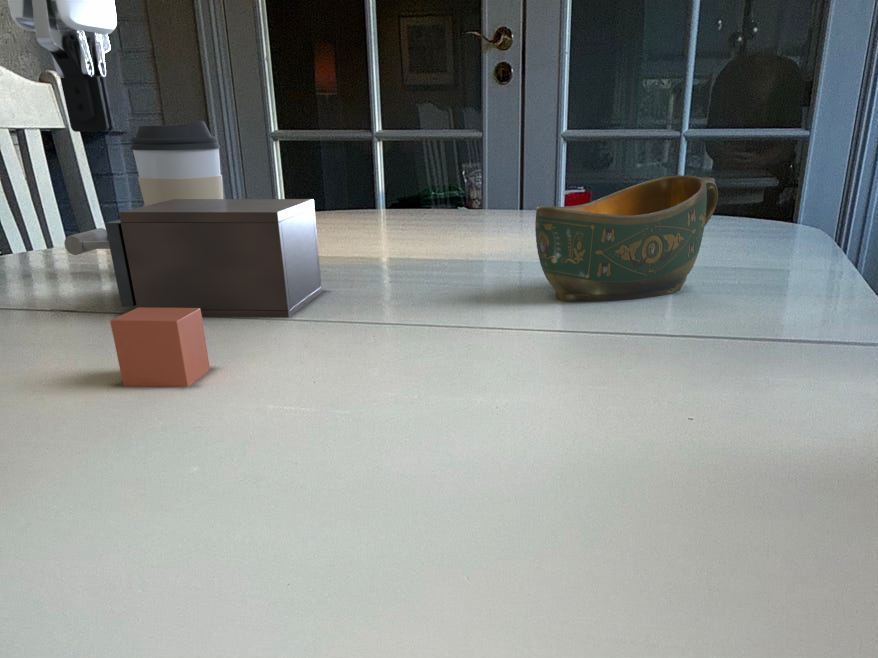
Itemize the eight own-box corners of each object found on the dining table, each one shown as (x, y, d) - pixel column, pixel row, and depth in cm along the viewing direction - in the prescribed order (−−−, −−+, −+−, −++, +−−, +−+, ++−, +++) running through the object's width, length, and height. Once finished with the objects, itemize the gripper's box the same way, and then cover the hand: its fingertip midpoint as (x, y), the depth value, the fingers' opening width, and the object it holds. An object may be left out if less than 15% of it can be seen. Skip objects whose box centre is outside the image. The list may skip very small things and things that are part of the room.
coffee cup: (137, 281, 97) (107, 121, 89) (180, 269, 105) (155, 120, 97) (213, 284, 95) (189, 121, 87) (251, 271, 103) (232, 119, 95)
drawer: (62, 306, 80) (43, 222, 77) (117, 284, 90) (102, 210, 86) (258, 307, 79) (247, 223, 75) (292, 286, 89) (284, 210, 85)
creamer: (749, 302, 84) (766, 182, 79) (539, 309, 82) (543, 185, 77) (701, 280, 95) (713, 173, 90) (516, 285, 93) (517, 176, 88)
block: (123, 389, 59) (109, 320, 57) (150, 372, 63) (137, 307, 61) (188, 390, 59) (176, 321, 57) (211, 373, 63) (200, 307, 61)
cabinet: (138, 318, 80) (118, 211, 75) (189, 293, 90) (174, 199, 86) (289, 320, 79) (277, 212, 74) (322, 294, 89) (313, 199, 85)
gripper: (39, -122, 75) (91, 130, 85) (-69, -168, 63) (6, 134, 72) (125, -125, 75) (168, 128, 84) (34, -173, 62) (96, 132, 71)
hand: (93, 130), depth 78 cm, fingers closed
